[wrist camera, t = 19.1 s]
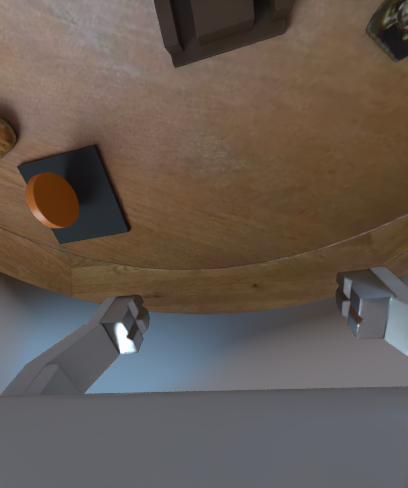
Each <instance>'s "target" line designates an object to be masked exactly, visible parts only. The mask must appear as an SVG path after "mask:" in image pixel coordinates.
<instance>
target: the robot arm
mask: <svg viewBox="0 0 408 488" xmlns="http://www.w3.org/2000/svg"><path fill="white" fill-rule="evenodd" d="M336 282H337V283H338V285H339V287H338V289H337V290H336V302H337V306H338V308H339V311H340V312H341V314H342V315H343V316H345V317H346V318H348V326H349V328H350V329H351V331H352V333H353V334H354V336H355V338H356V339H382V338H384V340H385V341H387V342H388V343H390V344H391V345H393V346H394V347H395V348H397V349H398V350H400V351H401V352H403V353H404V354H406V355H407V356H408V287H407V286H406V285H405V284H404V283H402V282H401V281H400V280H399V279H398V278H397V277H396V276H395V275H394V274H393V273H392V272H390V271H389V270H388V269H387V268H385V267H375V268H368V269H364V270H355V271H346V272H338V273H337V277H336ZM143 302H144V301H143V299H142V297H141V296H140V295H129V296H118V297H109V298H107V299H105V300H104V302H103V303H102V304H101V306H100V308H99V309H98V310H97V311H96V313H95V314H94V316H93V317H92V318H91V320H90V321H89V322H88V324H87V325H83V326H81V327H80V328H79V329H77V330H76V331H74V332H73V333H71V334H70V335H68V336H67V337H65V338H64V339H63V340H61V341H60V342H58V343H57V344H55V345H54V346H52V347H51V348H50V349H48V350H47V351H45V352H44V353H42V354H41V355H40V356H38V357H37V358H35V359H33V360H32V361H31V362H29V363H28V364H26V365H25V366H24V368H23V369H22V370H21V371H20V372H19V374H18V375H17V376H16V377H15V378H14V379H13V381H12V382H11V383H10V384H9V385H8V387H7V388H6V389H5V390H4V391H3V393H2V394H1V395H0V488H408V386H404V387H402V386H401V387H359V388H318V389H317V388H315V389H274V390H234V391H233V390H232V391H190V392H189V391H186V392H146V393H145V392H144V393H143V392H142V393H101V394H100V393H99V394H84V393H85V392H86V391H87V389H88V388H89V387H90V386H91V385H92V384H93V383H94V382H95V381H96V380H97V379H98V378H99V377H100V376H101V375H102V373H103V372H104V371H105V370H106V369H107V368H108V367H109V366H110V365H111V364H112V363H113V362H114V361H115V360H116V359H117V357H118V356H119V354H126V353H137V352H138V351H139V349H140V346H141V344H142V341H143V337H142V334H144V333H145V332H146V331H147V329H148V326H149V319H150V318H149V313H148V311H147V309H146V308H145V307H143V306H142V304H143Z"/></svg>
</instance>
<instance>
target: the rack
mask: <svg viewBox="0 0 408 488" xmlns="http://www.w3.org/2000/svg"><path fill="white" fill-rule="evenodd" d="M154 4H155V8H156V12H157V16H158V21H159V25H160V29H161V34H162V38H163V42H164V46H165V48H166V50H167V51H168V52H169V53H170V55H171V57H172V61H173V65H174V67H175V68H177V67H180V66H183V65H186V64H190V63H193V62H196V61H199V60H202V59H205V58H209V57H212V56H215V55H218V54H221V53H224V52H228V51H231V50H234V49H237V48H240V47H243V46H247V45H250V44H253V43H256V42H259V41H263V40H266V39H269V38H272V37H275V36H278V35H282V34H284V33H285V32H286V17H287V15H288V13H289V11H290V9H291V7H292V0H154Z"/></svg>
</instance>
